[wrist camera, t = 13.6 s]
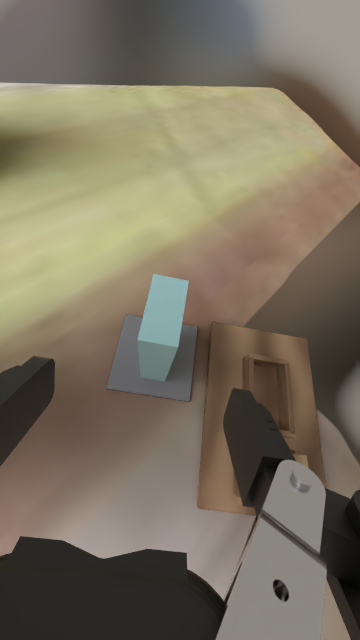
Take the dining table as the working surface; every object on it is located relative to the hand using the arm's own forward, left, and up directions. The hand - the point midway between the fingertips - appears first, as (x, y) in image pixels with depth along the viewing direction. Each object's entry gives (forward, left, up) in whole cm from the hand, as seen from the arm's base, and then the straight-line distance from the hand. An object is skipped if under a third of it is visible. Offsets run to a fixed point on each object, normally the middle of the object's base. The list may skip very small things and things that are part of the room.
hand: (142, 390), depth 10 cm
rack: (+14, +3, -18) cm, 23 cm away
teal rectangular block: (0, +7, -18) cm, 19 cm away
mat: (0, +7, -18) cm, 20 cm away
